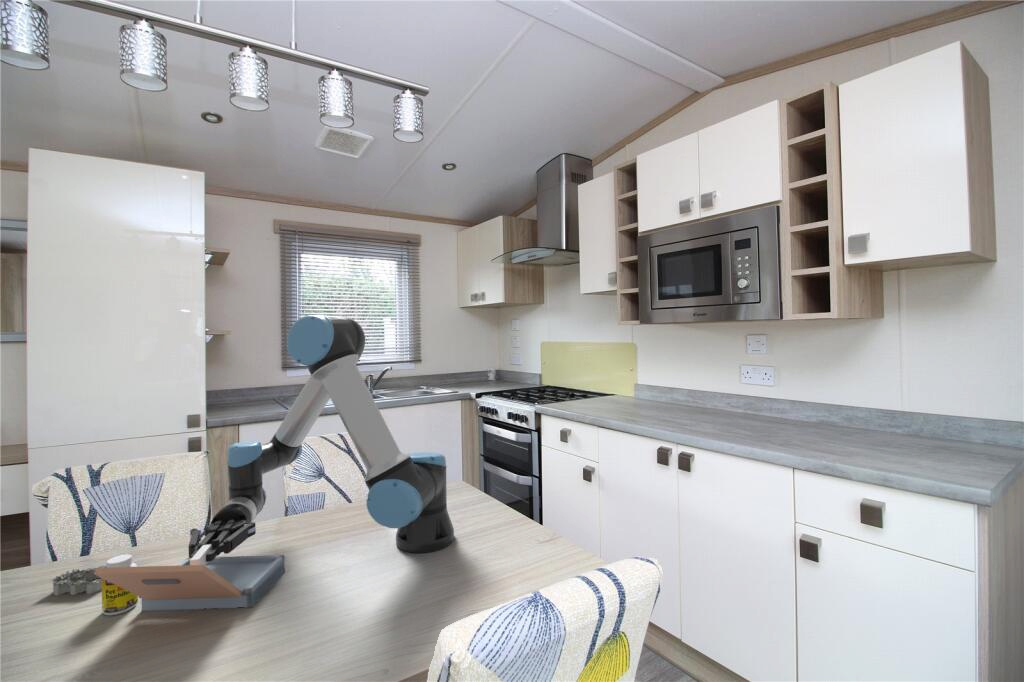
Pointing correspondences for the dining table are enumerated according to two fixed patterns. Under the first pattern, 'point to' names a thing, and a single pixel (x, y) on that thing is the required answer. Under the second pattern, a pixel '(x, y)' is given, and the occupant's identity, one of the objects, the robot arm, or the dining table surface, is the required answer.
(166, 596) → the panel
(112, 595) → the supplement bottle
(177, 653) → the dining table surface
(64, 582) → the egg carton
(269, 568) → the blue-grey tray
